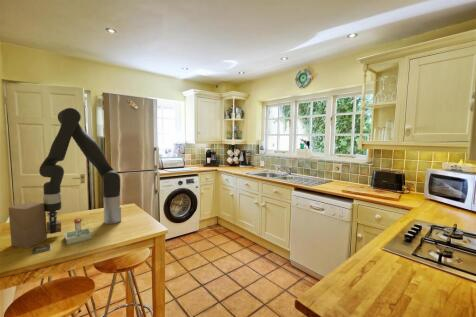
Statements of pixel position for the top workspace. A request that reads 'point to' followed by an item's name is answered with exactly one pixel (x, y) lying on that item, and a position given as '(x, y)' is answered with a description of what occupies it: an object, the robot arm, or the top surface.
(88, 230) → the tray
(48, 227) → the block
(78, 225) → the pin
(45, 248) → the pin socket
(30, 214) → the wooden block
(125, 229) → the top surface
